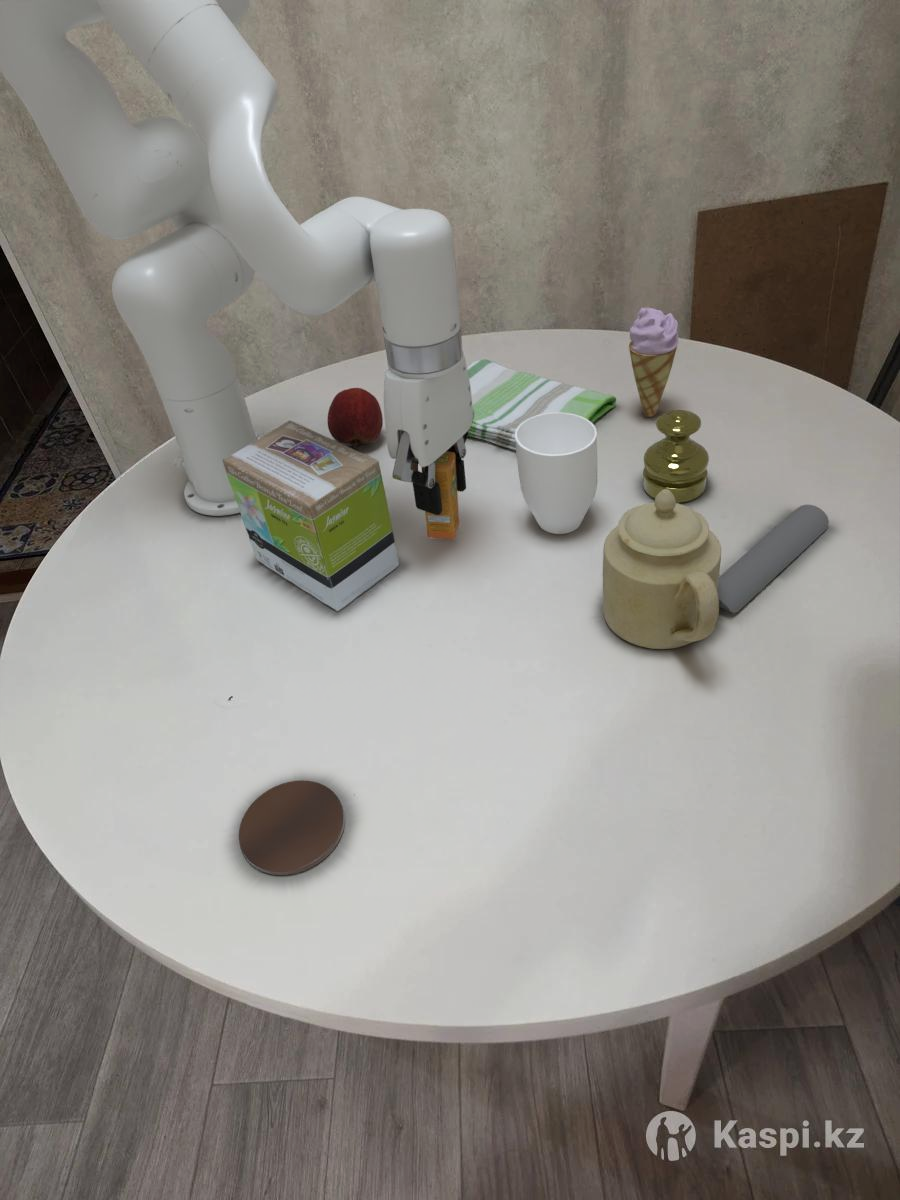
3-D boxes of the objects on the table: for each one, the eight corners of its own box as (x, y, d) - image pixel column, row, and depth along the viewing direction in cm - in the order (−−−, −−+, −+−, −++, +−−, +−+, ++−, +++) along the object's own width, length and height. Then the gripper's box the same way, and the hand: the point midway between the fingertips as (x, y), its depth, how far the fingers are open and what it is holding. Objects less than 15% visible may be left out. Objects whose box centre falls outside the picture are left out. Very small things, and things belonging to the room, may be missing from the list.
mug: (583, 550, 97) (581, 459, 89) (509, 537, 100) (502, 447, 92) (614, 492, 104) (615, 403, 96) (544, 481, 108) (540, 394, 100)
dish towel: (484, 370, 131) (482, 348, 129) (618, 403, 119) (619, 380, 117) (413, 423, 122) (409, 400, 120) (551, 465, 110) (550, 441, 108)
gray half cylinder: (830, 526, 95) (833, 512, 94) (730, 619, 86) (733, 605, 85) (795, 511, 97) (797, 498, 96) (694, 600, 88) (695, 587, 87)
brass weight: (637, 501, 102) (639, 427, 96) (649, 466, 107) (652, 394, 101) (700, 508, 100) (708, 433, 93) (710, 472, 105) (717, 398, 98)
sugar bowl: (769, 629, 85) (794, 503, 75) (697, 689, 80) (714, 563, 70) (650, 563, 94) (658, 443, 84) (579, 613, 89) (579, 492, 79)
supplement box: (457, 540, 99) (449, 467, 92) (427, 539, 99) (417, 466, 92) (462, 522, 101) (455, 450, 94) (433, 521, 102) (424, 449, 95)
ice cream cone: (621, 404, 119) (623, 298, 109) (666, 398, 119) (672, 291, 109) (633, 429, 114) (636, 320, 104) (679, 422, 114) (687, 313, 104)
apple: (398, 434, 120) (388, 382, 115) (364, 463, 115) (353, 410, 110) (356, 424, 123) (345, 373, 118) (322, 451, 119) (309, 399, 114)
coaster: (218, 845, 73) (216, 841, 73) (288, 769, 78) (286, 765, 78) (297, 894, 69) (296, 890, 68) (366, 810, 74) (364, 806, 74)
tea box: (254, 564, 102) (217, 457, 92) (318, 521, 107) (290, 415, 97) (337, 615, 93) (307, 504, 83) (403, 566, 98) (382, 455, 88)
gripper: (439, 306, 91) (454, 453, 104) (341, 378, 81) (370, 531, 94) (500, 318, 88) (508, 469, 100) (405, 394, 78) (427, 551, 90)
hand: (441, 497), depth 97 cm, fingers closed on supplement box, 4 cm apart
